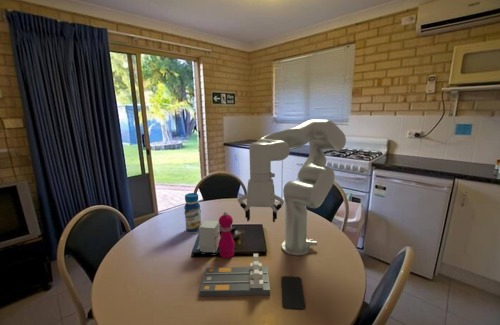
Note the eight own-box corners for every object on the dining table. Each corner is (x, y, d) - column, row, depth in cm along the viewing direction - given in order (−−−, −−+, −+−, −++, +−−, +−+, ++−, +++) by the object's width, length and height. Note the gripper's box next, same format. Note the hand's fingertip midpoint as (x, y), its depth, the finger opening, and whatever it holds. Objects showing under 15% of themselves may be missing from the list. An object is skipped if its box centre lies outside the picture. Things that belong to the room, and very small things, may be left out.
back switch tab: (261, 266, 93) (261, 253, 92) (261, 270, 91) (261, 256, 90) (250, 266, 93) (250, 253, 92) (250, 270, 91) (250, 256, 90)
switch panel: (267, 271, 94) (267, 266, 94) (270, 294, 82) (270, 289, 82) (206, 272, 94) (206, 267, 94) (199, 296, 82) (199, 290, 82)
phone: (282, 307, 76) (281, 275, 91) (282, 309, 76) (281, 277, 91) (306, 309, 75) (301, 276, 90) (305, 311, 76) (301, 278, 90)
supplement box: (215, 254, 106) (214, 228, 103) (199, 253, 108) (198, 227, 105) (220, 246, 113) (219, 221, 111) (206, 244, 115) (204, 219, 112)
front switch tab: (262, 283, 84) (262, 269, 83) (263, 288, 82) (263, 273, 81) (250, 284, 84) (250, 269, 83) (250, 288, 82) (250, 273, 81)
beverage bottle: (203, 226, 133) (201, 192, 129) (199, 234, 124) (196, 197, 120) (189, 226, 134) (186, 192, 130) (183, 233, 125) (180, 197, 121)
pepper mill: (222, 260, 102) (220, 216, 98) (216, 252, 108) (214, 210, 104) (238, 256, 105) (236, 213, 101) (231, 248, 111) (229, 207, 107)
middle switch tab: (262, 274, 89) (262, 261, 88) (262, 278, 87) (262, 264, 86) (250, 275, 89) (250, 261, 88) (250, 278, 87) (250, 264, 86)
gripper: (284, 174, 90) (284, 216, 93) (238, 173, 92) (240, 215, 96) (284, 179, 82) (284, 225, 86) (234, 178, 85) (236, 223, 88)
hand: (261, 220), depth 91 cm, fingers open, 9 cm apart
